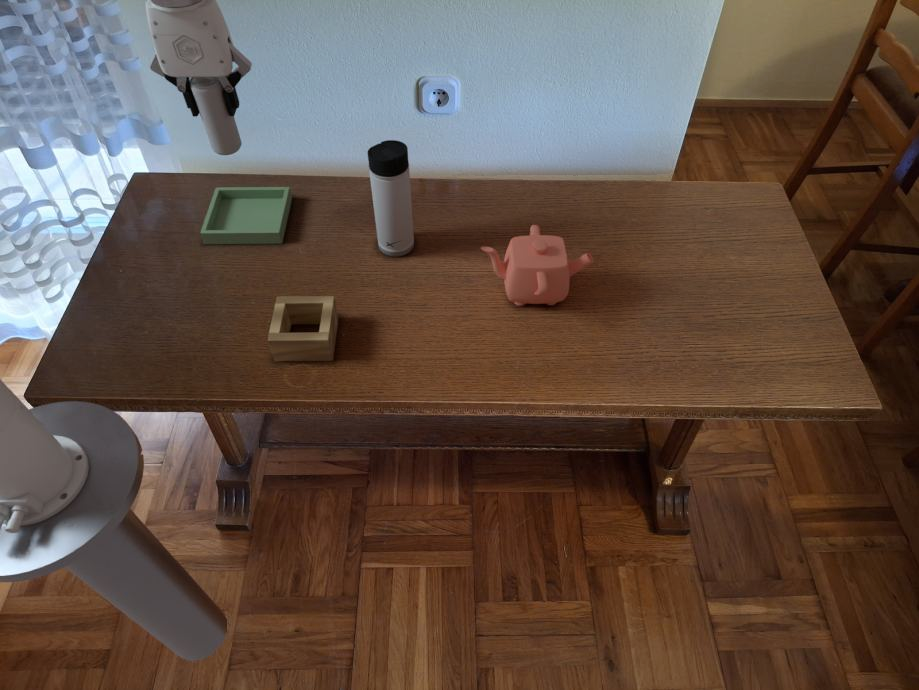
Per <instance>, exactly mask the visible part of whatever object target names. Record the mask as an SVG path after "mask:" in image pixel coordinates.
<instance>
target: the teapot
mask: <svg viewBox="0 0 919 690" xmlns="http://www.w3.org/2000/svg"><path fill="white" fill-rule="evenodd" d="M480 250H481V251H483V252H484V253H486V254H488V255H489V257H490V259H491V264H492V268H493V272H494V273H495V275H496V276H497V277H498V278H499V279H501V280H502V281H503V283H504V289H505V294H506V297H507V299H508V301H510V302H511V303H512V302H513V303H514V304H515V305H516V306H524V305H526V304H532V305H541V304H546V305H548V306H554V305H556V304H557V303H560V302H563V301H564V300H565V299H566V298H567V296H568V295H569V291H570V277H572V276H574V275H576V274H578V273H579V272H580V271H582V270H583V269H586V268H587V267H588V266H590V265H592V264H593V263H595V261H594V258H593V256H592V255H591V254H590V253H589V252H586V253H584V254H583V255H581V256H579V257H577V258H576V259H574V260H573V261H571V262H570V263H569V260H568V259H569V258H568V253H567V248H566V244H565V240H564V238H563V237H562V236H557V235H550V234H549V235H547V234H546V235H545V234H541V229H540V226H539V225H538V224H532V225H531V226H530V230H529V235H519V236H514V237H512V238H511V239H510V241H509V243H508V246H507V248H506V250H505V251H506V252H505V254H504V259H503V260H501V259H500V256H499V253H498V251H497V250H496V249H495V248H493V247H490V246H481V247H480Z"/></svg>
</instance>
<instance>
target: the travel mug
mask: <svg viewBox="0 0 919 690" xmlns="http://www.w3.org/2000/svg"><path fill="white" fill-rule="evenodd" d="M408 149H409V148H408V145H407V144H406V143H404V142H402V141H400V140H395V139H389V140H383V141H380V143H377V144H375V145H373V146H371V147H370V148H368V149H367V161H368V171H369V179H370V181H369V182H370V189H371V197H372V203H373V212H374V213H373V214H374V220H375V228H376V229H375V230H376V238H377V245H378V246H377V247H378V249H379V251H380V252H382V253H383V254H384V255H386V256H389V257H403V256H405V255H407V254H409V253H410V252H411V251H412V250H413V249H414V247H415V237H414V236H415V235H414V221H413V219H414V218H413V204H412V189H411V175H410V174H411V173H410V163H409V150H408Z"/></svg>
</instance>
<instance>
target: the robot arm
mask: <svg viewBox="0 0 919 690" xmlns="http://www.w3.org/2000/svg"><path fill="white" fill-rule="evenodd" d="M144 5H145V11H146V18H147V23H148V28H149V32H150V37H151V41H152V44H153V48H154V51H155V54H154V57H153V60H152V62H151V64H150V67H149V69H150V70H151V71H152V72H154V73H155V74H157V75H159V76H161V77H163V78H164V79H165V80H166V81H167V82H169V83H170V84H172V85H173V86H175V87H176V89H177V91H178V92H180V93H182V96H183V99H184V102H185V105H186V108H187V109H190V112H191V115H192V117H197V118H198V116H199V115H200V113H199V110H198V107H197V104H196V101H195V98H194V95H193V93H192V90H191V87H190V86H191V83H190V79H191V77H218V79H219V81H220V82H221V84H222V86H223V87H224V91H223V98H224V101H225V104H226V108H227V111H228V114H229V115H230V116H234V117H235V114H236V113H237V109H240V99H239V96H238V92H237V88H236V86H237V85H238V84H239V82H240V81H241V80H242V79H243V77H245V76H246V75H247V74H248V73H250V71H251V69H252V67H253V63H252V62H251V60H250V59H248V58H247V57H246V56H245V55H244V54H243V53H242V52H241V51H240V50H239V49H237V47H236V46H235V45H234V42H233V39H232V36H231V33H230V31H229V27H228V25H227V22H226V19H225V17H224V15H223V13H222V10H221V8H220V6H219V4H218V1H217V0H146V1H145V3H144ZM233 62H234V63H235V64H236V65H237V67H235V69H234V70H233V67H234V65H233ZM29 409H30V408H28V407H27V406H26V405H25V404H24V402H22V400H21V399H20V398H19V397H18V396H17V395H16V394H15V393H14V392H13V391H12V390H11V389H10V388H9V387H8V385H6V383H5V382H4V381H3V380H2V379H1V378H0V530H1V526H2V524H5V525H7V526H6V528H5V531H6V532H9V533H17V532H18V531H19V528H20V526H26V525H31V524H35V523H38V522H41V521H43V520H46V519H48V518H50V517H52V516H53V515H55V514H57V513H58V512H60V511H61V510H62V509H64V508H65V507H66V506H67V505H68V504H69V503H71V502H72V501H73V500H74V498H75V497H76V496H77V495H78V493H79V492H80V491H81V489H82V487H83V485H84V484H85V481H86V478H87V476H88V470H89V462H88V458H87V455H86V453H85V451H84V450H83V449H82V447H81V446H80V445H79V444H78V443H77V442H75V441H74V440H72V439H70V438H67V437H64V436H56V435H52V434H51V433H50V432H49V431H48V430H47V429H46V428H45V427H44V426H43V424H42V423H41V422H40V421H39V420H38V419H37V418H36V417H35V416H34V415H33V414H32V413H31V411H30V410H29Z"/></svg>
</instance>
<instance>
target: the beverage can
mask: <svg viewBox="0 0 919 690" xmlns="http://www.w3.org/2000/svg"><path fill="white" fill-rule="evenodd" d="M190 83H191V86H190V87H191V90H192V93H193V95H194V98H195V101H196V104H197V107H198V110H199V115H200V118H201V121H202V125H203V126H204V130H205V133H206V136H207V138H208V141H209V144H210V147H211V150H212V151H213V152H214V153H216V154H217V155H220V156H230V155H233V154H235V153H237V152H238V151H240V148H241V147H242V138H241V136H240V132H239V129H238V126H237V123H236V119H235V115H234V116H230V115H229V114H228V111H227V108H226V104H225V101H224V98H223V91H224V87H223V86H222V84H221V82H220V81H219V79H218V77H190Z"/></svg>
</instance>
